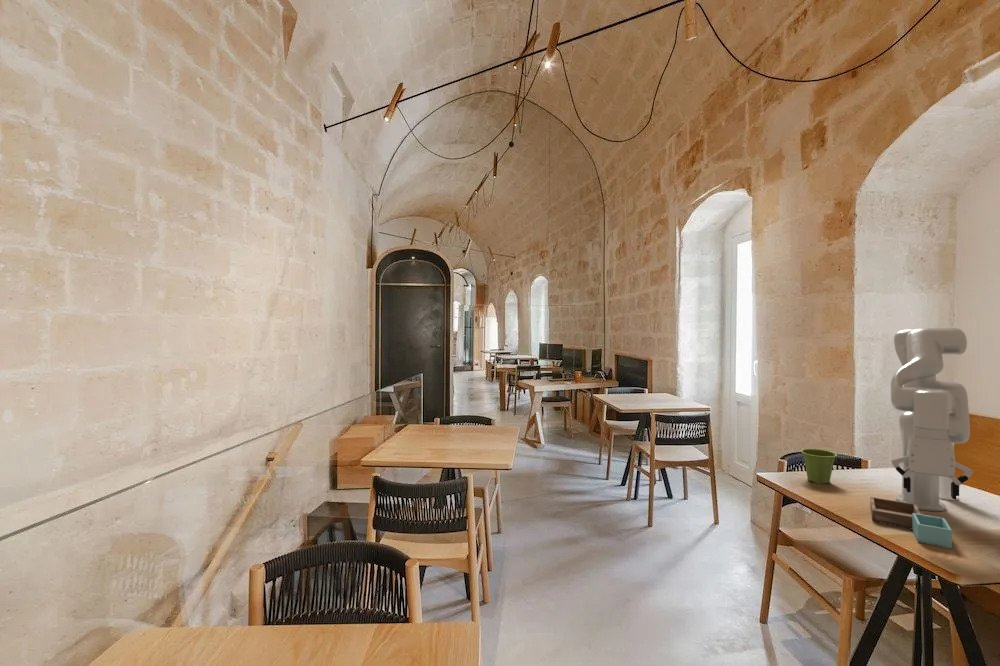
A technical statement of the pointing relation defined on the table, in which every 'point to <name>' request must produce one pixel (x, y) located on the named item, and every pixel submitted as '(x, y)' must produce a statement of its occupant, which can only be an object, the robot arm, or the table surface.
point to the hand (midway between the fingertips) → (930, 494)
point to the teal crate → (932, 530)
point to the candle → (945, 487)
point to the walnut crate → (892, 512)
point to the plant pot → (818, 464)
